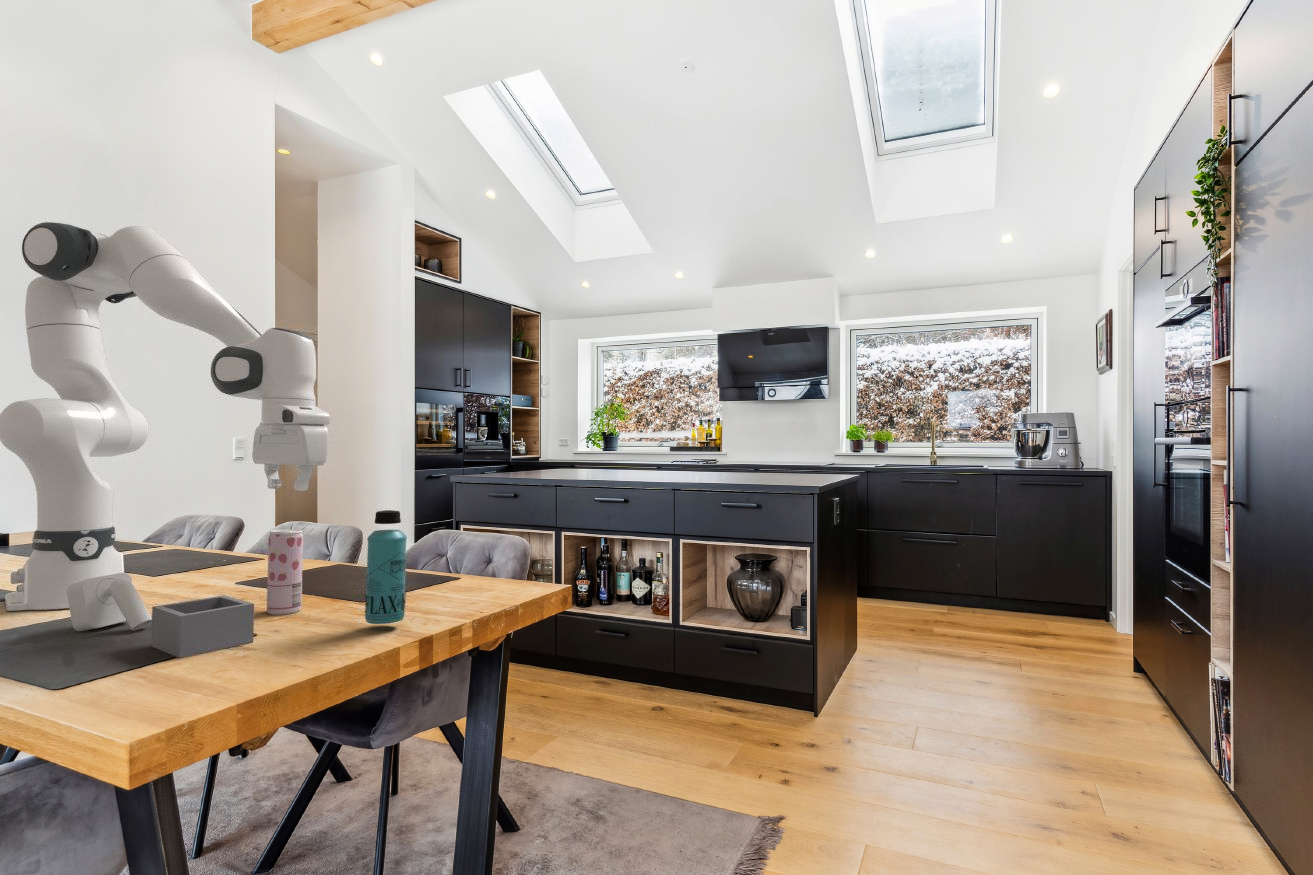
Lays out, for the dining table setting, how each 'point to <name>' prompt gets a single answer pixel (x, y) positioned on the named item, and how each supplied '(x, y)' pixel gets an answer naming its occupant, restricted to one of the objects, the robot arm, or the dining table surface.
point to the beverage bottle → (386, 572)
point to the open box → (202, 625)
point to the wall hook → (106, 603)
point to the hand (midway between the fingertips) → (287, 489)
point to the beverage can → (285, 571)
